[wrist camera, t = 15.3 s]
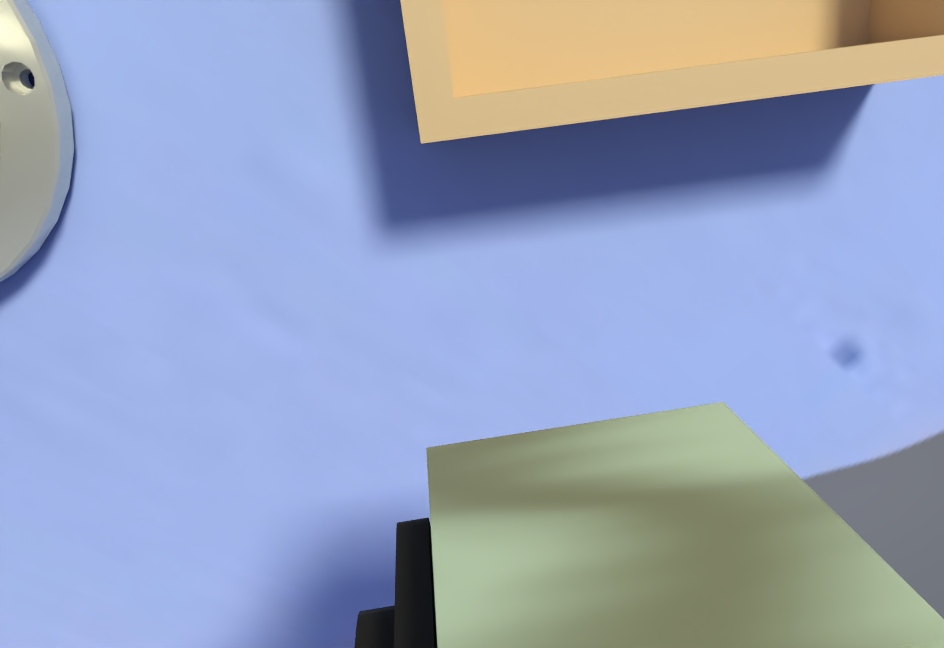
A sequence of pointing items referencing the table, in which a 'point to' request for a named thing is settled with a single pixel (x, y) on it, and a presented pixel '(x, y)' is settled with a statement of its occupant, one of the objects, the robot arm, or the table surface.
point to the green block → (652, 544)
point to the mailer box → (648, 56)
